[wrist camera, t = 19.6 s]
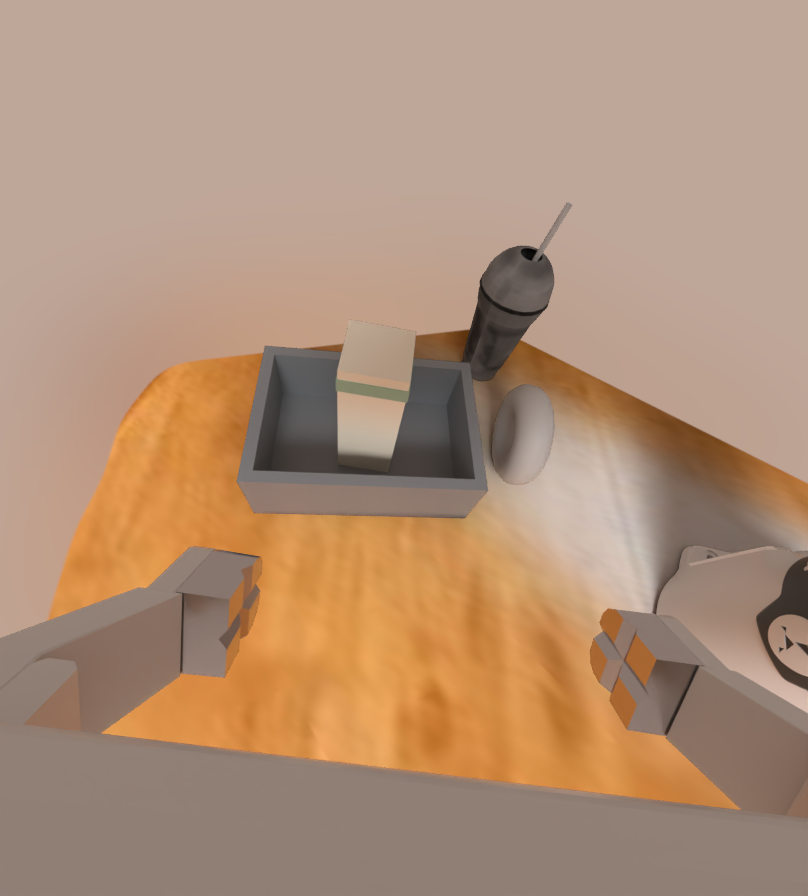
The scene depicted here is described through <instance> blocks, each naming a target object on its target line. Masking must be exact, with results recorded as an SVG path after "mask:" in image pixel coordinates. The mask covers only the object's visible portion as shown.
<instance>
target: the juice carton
mask: <svg viewBox="0 0 808 896" xmlns="http://www.w3.org/2000/svg"><path fill="white" fill-rule="evenodd" d="M415 339H416V331H410V330H405V329H400V328H394V327H388V326H383V325H378V324H372V323H367V322H361V321H356V320H349V324H348V328H347V333H346V337H345V341H344V345H343V349H342V353H341V357H340V361H339V365H338V369H337V376H336V391H337V412H338V465H343V466H350V467H356V468H363V469H370V470H376V471H383V472H388V470H389V466H390V462H391V458H392V454H393V450H394V446H395V442H396V439H397V435H398V431H399V427H400V423H401V419H402V415H403V411H404V407H405V403H407V401H408V397H409V393H410V385H411V377H412V368H413V359H414V350H415V341H416V340H415Z"/></svg>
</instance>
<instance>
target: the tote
mask: <svg viewBox="0 0 808 896" xmlns="http://www.w3.org/2000/svg"><path fill="white" fill-rule="evenodd" d="M341 353H342V352H333V351H321V350H309V349H298V348H285V347H273V346H265V348H264V353H263V358H262V362H261V367H260V372H259V377H258V382H257V386H256V391H255V396H254V401H253V406H252V411H251V415H250V420H249V425H248V430H247V435H246V439H245V444H244V449H243V454H242V459H241V464H240V468H239V473H238V478H237V483H238V485H239V487H240V488H241V490H242V492H243V494H244V495H245V497H246V499H247V501H248V503H249V504H250V506H251V508H252V510H253V511H254V513H276V514H316V515H355V516H394V517H434V518H465V517H466V516H467V515H468V513H469V512H470V511H471V510H472V509H473V508H474V506H475V505H476V504H477V503H478V502H479V501H480V499H481V498H482V497H483V496H484V495H485V494H486V492H487V491H488V487H487V480H486V473H485V466H484V459H483V452H482V445H481V438H480V431H479V424H478V417H477V410H476V403H475V396H474V389H473V382H472V375H471V368H470V363H464V362H452V361H440V360H429V359H417V358H414V359H413V368H412V377H411V385H410V393H409V397H408V401H407V403H405V407H404V411H403V415H402V419H401V423H400V427H399V431H398V435H397V439H396V442H395V446H394V450H393V454H392V458H391V462H390V466H389V470H388V472H383V471H376V470H370V469H363V468H356V467H350V466H343V465H338V412H337V391H336V376H337V369H338V365H339V361H340V357H341Z"/></svg>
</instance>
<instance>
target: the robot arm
mask: <svg viewBox="0 0 808 896" xmlns="http://www.w3.org/2000/svg"><path fill="white" fill-rule="evenodd" d="M261 574H262V559H261V557H259V556H254V555H248V554H242V553H236V552H230V551H224V550H216V549H212V548H205V547H198V546H193V547H190V548H188V549H187V550H186V551H185V552H184V553H183V554H182V555H181V556H180V557H179V558H178V559H177V560H176V561H175V562H174V563H173V564H172V565H170V566H169V567H168V568H167V569H166V570H165V571H164V572H163V573H162V574H161V575H160V576H159V577H158V578H157V579H156V580H155V581H154V582H153V583H152V584H151V585H150V586H149V587H147V588H136V589H133V590H131V591H128V592H125V593H122V594H120V595H117V596H114V597H111V598H109V599H106V600H103V601H101V602H98V603H95V604H92V605H90V606H87V607H84V608H81V609H79V610H76V611H73V612H70V613H68V614H65V615H62V616H60V617H57V618H54V619H51V620H49V621H46V622H43V623H40V624H38V625H35V626H32V627H29V628H27V629H24V630H21V631H19V632H16V633H13V634H10V635H8V636H5V637H3V638H0V896H808V551H796V552H791V550H790V549H789V548H785V547H778V548H775V547H774V546H765V547H759V548H755V549H750V550H746V551H741V552H737V553H730V552H726V551H721V550H717V549H712V548H708V547H703V546H698V545H695V546H690V547H686V548H685V549H684V550H683V552H682V555H681V558H680V563H679V569H678V571H677V572H676V574H675V575H674V576H673V577H672V578H671V579H670V580H669V581H668V582H667V584H666V585H665V586H664V588H663V590H662V592H661V594H660V597H659V600H658V604H657V612H656V614H651V613H649V614H648V613H640V612H632V611H624V610H616V609H607V610H606V611H605V612H604V613H603V615H602V617H601V620H600V625H601V628H602V630H603V632H601V633H600V634H599V635H597V636H596V637H595V638H594V639H593V642H592V646H591V649H590V662H591V666H592V669H593V673H594V675H595V676H596V678H597V680H598V682H599V683H600V684H601V685H602V686H604V687H605V688H606V689H607V690H608V691H610V692H611V695H610V702H611V704H612V706H613V707H614V709H615V711H616V712H617V714H618V716H619V717H620V719H621V721H622V722H623V724H624V726H625V728H626V729H627V730H632V731H638V732H644V733H650V734H656V735H663V736H667V737H666V739H667V740H668V741H669V742H671V743H672V744H673V745H674V746H675V747H676V748H677V749H678V750H679V751H680V752H681V753H682V754H683V755H684V756H685V757H686V758H687V759H688V760H689V761H691V762H692V763H693V764H694V765H695V766H696V767H697V768H698V769H699V770H700V771H701V772H702V773H703V774H704V775H705V776H706V777H707V778H708V779H709V780H711V781H712V782H713V783H714V784H715V785H716V786H717V787H718V788H719V789H720V790H721V791H722V792H723V793H724V794H725V795H726V796H727V797H728V798H729V799H731V800H732V801H733V802H734V803H735V804H736V805H737V806H738V807H739V808H740V809H741V810H735V809H726V808H718V807H710V806H702V805H693V804H685V803H677V802H669V801H660V800H652V799H644V798H636V797H628V796H619V795H611V794H603V793H595V792H587V791H578V790H570V789H562V788H553V787H545V786H537V785H528V784H520V783H511V782H503V781H494V780H486V779H478V778H469V777H461V776H452V775H444V774H435V773H427V772H419V771H410V770H402V769H393V768H385V767H376V766H368V765H360V764H351V763H343V762H335V761H326V760H318V759H309V758H301V757H293V756H284V755H276V754H267V753H259V752H251V751H242V750H234V749H226V748H217V747H209V746H200V745H192V744H184V743H175V742H167V741H159V740H150V739H142V738H133V737H125V736H117V735H108V734H100V733H102V732H103V731H104V730H106V729H107V728H109V727H110V726H111V725H113V724H114V723H115V722H117V721H118V720H120V719H121V718H122V717H124V716H125V715H127V714H128V713H129V712H131V711H132V710H133V709H135V708H136V707H138V706H139V705H140V704H142V703H143V702H145V701H146V700H147V699H149V698H150V697H151V696H153V695H154V694H156V693H157V692H158V691H160V690H161V689H163V688H164V687H165V686H167V685H168V684H169V683H171V682H172V681H174V680H175V679H176V678H178V677H179V676H180V673H183V674H193V675H203V676H213V677H223V678H225V676H226V674H227V673H228V671H229V669H230V667H231V665H232V663H233V661H234V659H235V658H236V656H237V654H238V652H239V644H240V639H242V638H243V637H245V636H247V635H248V633H249V631H250V629H251V627H252V625H253V622H254V619H255V616H256V613H257V609H258V604H259V598H260V590H259V588H258V587H257V585H256V583H257V581H258V579H259V578H260V576H261Z"/></svg>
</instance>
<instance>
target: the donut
mask: <svg viewBox="0 0 808 896" xmlns="http://www.w3.org/2000/svg"><path fill="white" fill-rule="evenodd" d="M553 436H554V411H553V408H552V404H551V401H550V399H549V397H548V396H547V395H546V393H545V392H544V391H543V390H542V389H541V388H539V387H536V386H533V385H530V384H523V385H521V386H518V387H516V388H514V389H513V390H511V391H510V392H509V393H508V395H507V396H506V397H505V399H504V400H503V402H502V404H501V406H500V408H499V411H498V414H497V417H496V420H495V425H494V430H493V438H492V456H493V462H494V466H495V469H496V472H497V473H498V475H499V476H500V477H501V478H502V479H503V480H504V481H505V482H507V483H509V484H514V485H524V484H526V483H529V482H530V481H532V480H533V479H535V478H536V477H537V476H538V475H539V473H540V472H541V471H542V469H543V468H544V466H545V463H546V461H547V459H548V456H549V454H550V450H551V446H552V442H553Z"/></svg>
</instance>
